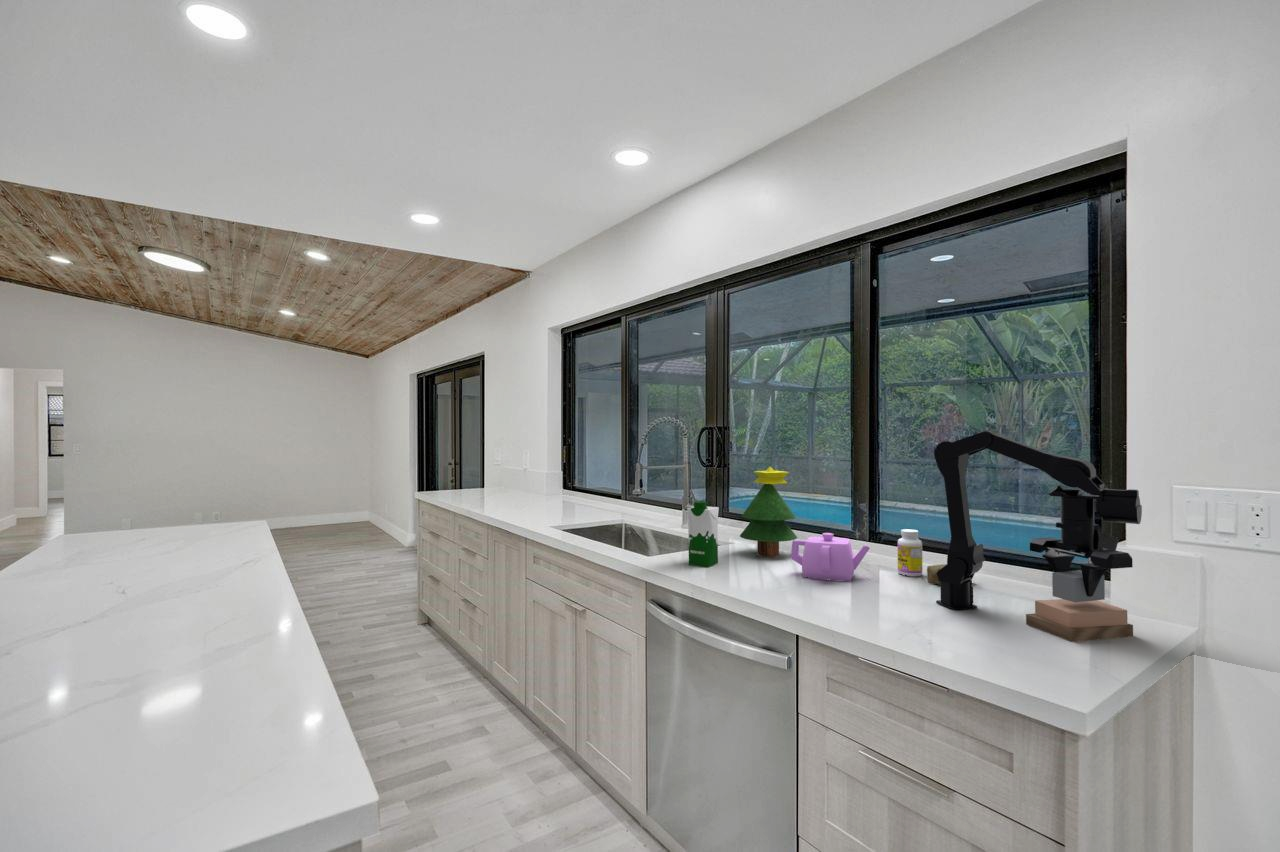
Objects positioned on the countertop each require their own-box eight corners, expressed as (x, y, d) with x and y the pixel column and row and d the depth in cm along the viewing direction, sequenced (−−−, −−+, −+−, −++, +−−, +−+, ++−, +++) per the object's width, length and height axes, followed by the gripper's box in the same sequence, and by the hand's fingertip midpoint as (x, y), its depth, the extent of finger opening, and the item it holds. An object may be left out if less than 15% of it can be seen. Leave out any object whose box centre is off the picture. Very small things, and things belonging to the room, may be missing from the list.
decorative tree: (730, 551, 210) (729, 465, 211) (778, 547, 216) (777, 464, 216) (756, 562, 192) (756, 469, 192) (808, 558, 198) (808, 467, 198)
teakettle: (786, 572, 179) (786, 531, 179) (831, 566, 186) (830, 527, 186) (825, 585, 163) (825, 540, 163) (872, 579, 170) (872, 535, 170)
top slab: (1069, 627, 121) (1069, 613, 121) (1035, 614, 130) (1035, 600, 130) (1127, 624, 122) (1127, 610, 122) (1089, 611, 131) (1089, 597, 131)
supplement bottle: (893, 571, 178) (892, 528, 178) (914, 571, 179) (914, 528, 179) (905, 577, 172) (904, 532, 172) (927, 576, 172) (926, 532, 172)
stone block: (974, 584, 164) (974, 565, 164) (940, 588, 161) (940, 569, 161) (957, 579, 170) (957, 561, 170) (924, 582, 166) (924, 564, 166)
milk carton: (684, 565, 189) (684, 501, 189) (697, 559, 197) (697, 498, 197) (709, 568, 184) (709, 503, 184) (722, 562, 192) (721, 500, 192)
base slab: (1072, 645, 119) (1072, 630, 119) (1026, 627, 130) (1025, 614, 130) (1133, 639, 122) (1133, 624, 122) (1083, 622, 133) (1082, 609, 133)
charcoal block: (1075, 602, 123) (1075, 578, 123) (1052, 596, 127) (1052, 572, 127) (1104, 599, 125) (1104, 575, 125) (1081, 593, 130) (1081, 570, 130)
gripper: (1154, 524, 119) (1154, 602, 119) (1067, 511, 137) (1068, 579, 137) (1109, 526, 116) (1110, 606, 116) (1027, 513, 135) (1028, 582, 134)
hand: (1078, 592), depth 126 cm, fingers closed on charcoal block, 5 cm apart
